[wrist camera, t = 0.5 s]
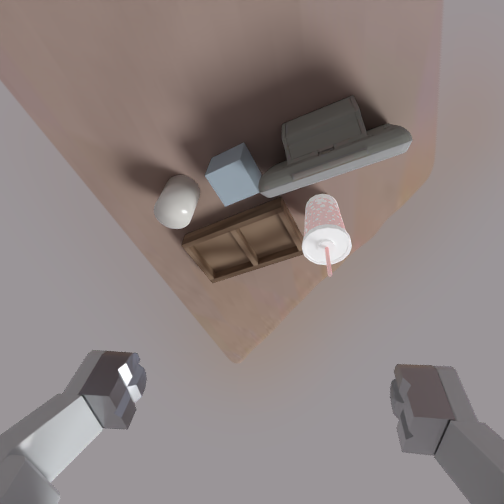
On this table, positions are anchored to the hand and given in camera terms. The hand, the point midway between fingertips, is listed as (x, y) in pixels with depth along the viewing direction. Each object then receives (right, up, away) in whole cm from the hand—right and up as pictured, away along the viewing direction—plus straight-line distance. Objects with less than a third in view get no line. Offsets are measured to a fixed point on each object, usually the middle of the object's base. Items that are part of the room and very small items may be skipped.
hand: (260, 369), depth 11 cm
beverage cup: (+10, +10, +39) cm, 41 cm away
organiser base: (-1, +6, +43) cm, 44 cm away
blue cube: (-2, +15, +35) cm, 39 cm away
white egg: (-10, +13, +38) cm, 42 cm away
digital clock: (+9, +18, +32) cm, 38 cm away
